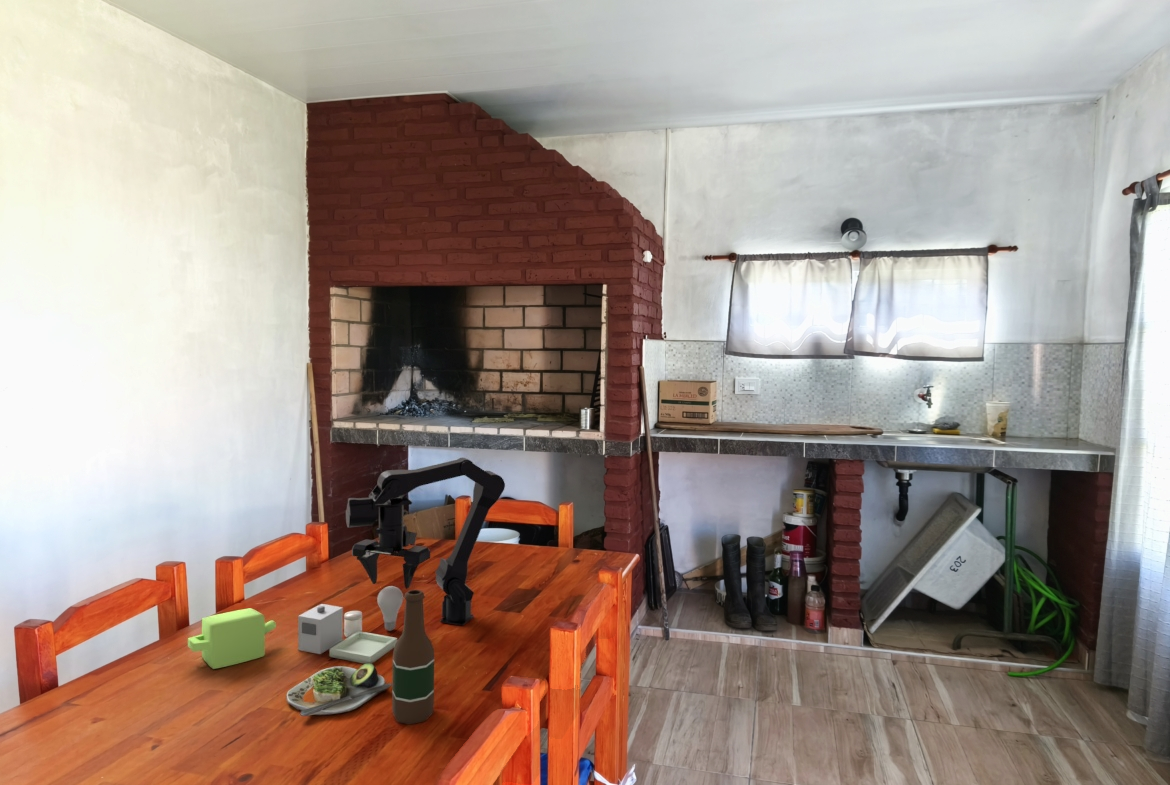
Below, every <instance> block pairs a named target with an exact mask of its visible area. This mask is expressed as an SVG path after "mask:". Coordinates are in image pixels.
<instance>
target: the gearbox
mask: <svg viewBox="0 0 1170 785" xmlns="http://www.w3.org/2000/svg"><path fill="white" fill-rule="evenodd" d="M265 617H266V616H265V615H264V614H263V613H261V612H260V611H257V610H256V609H253V608H251V607H250V608H244V609H243V608H242V609H238V610H231V611H227V612H223V613H218V614H212V615H210V616H206V617H202V618H201V633H200V634H199V635H194V636H191V637H188V638H187V647H188V648H189V649H190V650H191V651H192V652H194V653H195V652H201V658H202V659H203V661H204V662H205V663H206V664H207V665H208V666H209V667H210V668H211V669H213V670H215V669H221V668H224V667H230V666H233V665H238V664H241V663H244V662H249V661H253V660H256V659H259V658H263V657H265V652H266V651H265V646H266V642H265V640H266V636H265V635H266V634H268V633H269V632H271V631H273V630H274V629H276V628H277V622H276V621H274V620H269V621H267V622H266V621H265V620H266V619H265Z"/></svg>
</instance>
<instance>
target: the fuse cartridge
mask: <svg viewBox="0 0 1170 785" xmlns="http://www.w3.org/2000/svg"><path fill="white" fill-rule="evenodd" d="M343 620H344V624H343V636H344V637H346V638H348V637H350V636H351V635H353V634H355V633H356V632H358V631H361V632H363V612H362V611H360V610H350V611H347V612H345V613H343Z"/></svg>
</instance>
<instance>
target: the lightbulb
mask: <svg viewBox="0 0 1170 785" xmlns="http://www.w3.org/2000/svg"><path fill="white" fill-rule="evenodd" d="M376 600H377V606H379V609H380V610H381V613H382V616H383V619H382V620H383V621H384V629H385V630H387V631H388V632H392V631H393V630H394V629H395V628H396V623H397V619H398V612H399V610H400V608H401V606H402V604H403V601H404V594H403V592H402V590H401V589H400V588H399V587H396V586H393V585H390V586H386V587H383V589H381V590H380V591H379V593H378V594H377V599H376Z"/></svg>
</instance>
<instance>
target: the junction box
mask: <svg viewBox="0 0 1170 785" xmlns="http://www.w3.org/2000/svg"><path fill="white" fill-rule="evenodd" d="M297 618H298V621H297V622H298V623H297V624H298V625H297V626H298V630H297V631H298V633H297V635H298V636H297V637H298V638H297V639H298V640H297V641H298V642H297V644H298V651H302V652H306V653H307V652H308V653H313V654H317V655H322V654H323V653H324V652H327V651H329V650H330V648H332V647H334V646H335V645H337V644H338V643H340V642H342V641H343V640H344V638H343V636H344V607H343V606H338V605H337V606H336V605H331V604H323V603H321V604H318V605H317V606H315V607H313V608H311V609H309V610H306V611H305V612H303V613H301V614H300V615H298V616H297Z"/></svg>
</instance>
